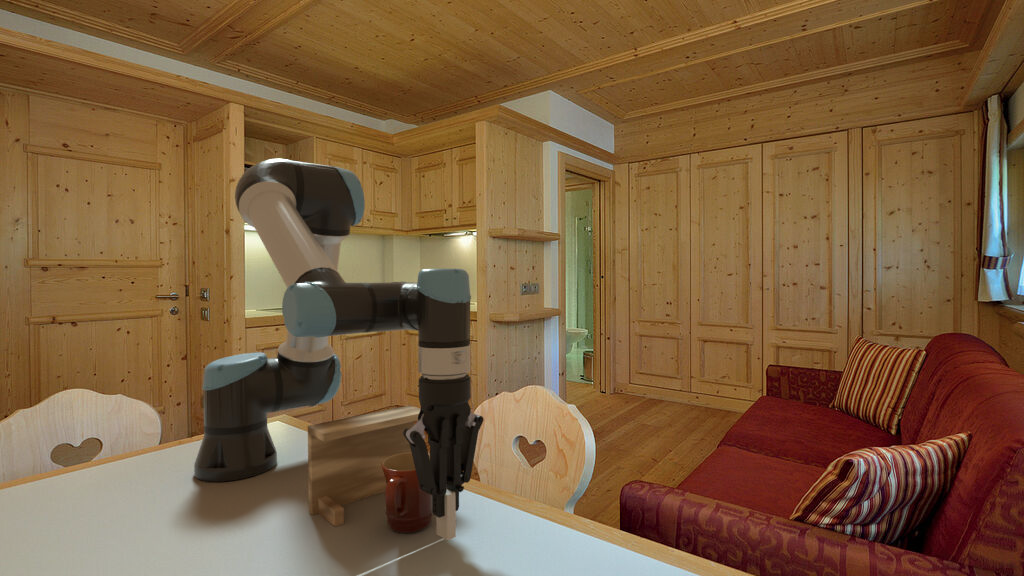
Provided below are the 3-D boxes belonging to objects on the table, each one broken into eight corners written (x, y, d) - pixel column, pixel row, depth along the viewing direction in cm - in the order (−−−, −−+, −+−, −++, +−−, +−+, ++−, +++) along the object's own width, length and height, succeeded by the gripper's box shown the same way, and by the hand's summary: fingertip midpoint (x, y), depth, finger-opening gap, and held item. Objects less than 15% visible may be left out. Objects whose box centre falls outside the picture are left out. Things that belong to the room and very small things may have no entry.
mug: (396, 510, 87) (395, 450, 87) (445, 514, 85) (444, 453, 85) (361, 546, 75) (360, 477, 75) (417, 552, 74) (416, 481, 73)
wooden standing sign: (308, 512, 87) (307, 425, 86) (410, 480, 100) (410, 405, 100) (328, 528, 81) (327, 436, 81) (434, 492, 94) (433, 412, 94)
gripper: (420, 384, 67) (422, 562, 68) (495, 372, 76) (496, 529, 76) (391, 377, 73) (393, 541, 73) (464, 366, 82) (465, 512, 82)
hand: (446, 535), depth 75 cm, fingers closed
